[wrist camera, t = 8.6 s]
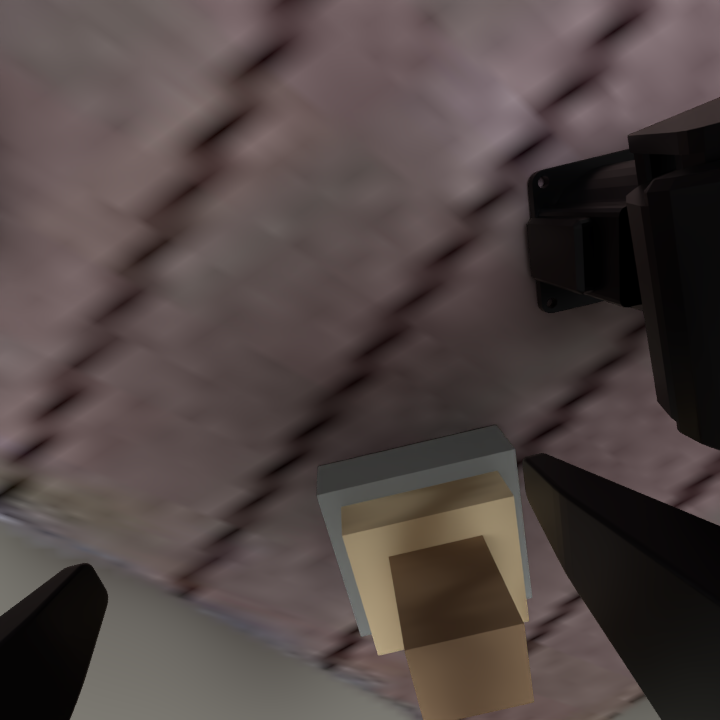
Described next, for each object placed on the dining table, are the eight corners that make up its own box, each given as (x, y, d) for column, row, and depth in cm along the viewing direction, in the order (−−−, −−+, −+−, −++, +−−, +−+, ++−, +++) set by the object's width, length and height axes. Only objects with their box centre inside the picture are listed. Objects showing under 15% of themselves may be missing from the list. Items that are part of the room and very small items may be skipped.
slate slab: (496, 424, 23) (515, 449, 21) (514, 563, 26) (532, 597, 24) (317, 466, 23) (316, 495, 21) (358, 598, 26) (361, 636, 24)
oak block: (497, 470, 21) (513, 496, 19) (513, 588, 24) (528, 621, 22) (340, 507, 21) (341, 535, 19) (374, 620, 24) (378, 655, 22)
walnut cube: (482, 534, 20) (524, 623, 15) (493, 604, 21) (533, 702, 17) (388, 556, 20) (404, 650, 16) (406, 624, 21) (425, 726, 17)
